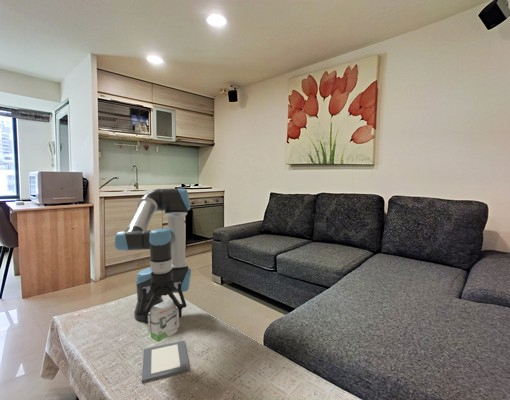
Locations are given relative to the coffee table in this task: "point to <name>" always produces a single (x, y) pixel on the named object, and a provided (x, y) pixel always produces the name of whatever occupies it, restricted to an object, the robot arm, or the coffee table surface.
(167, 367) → the writing mat
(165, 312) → the ink box
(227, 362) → the coffee table surface
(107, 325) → the coffee table surface
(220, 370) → the coffee table surface
